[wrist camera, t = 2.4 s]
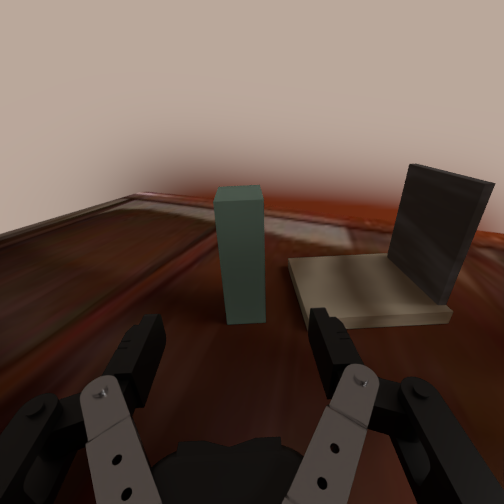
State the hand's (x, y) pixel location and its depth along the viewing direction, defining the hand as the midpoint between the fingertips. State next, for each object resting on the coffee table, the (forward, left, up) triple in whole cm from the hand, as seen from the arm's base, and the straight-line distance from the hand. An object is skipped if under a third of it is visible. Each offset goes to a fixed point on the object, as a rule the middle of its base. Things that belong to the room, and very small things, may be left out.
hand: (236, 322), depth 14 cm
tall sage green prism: (0, -12, -9) cm, 15 cm away
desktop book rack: (-13, -14, -9) cm, 21 cm away
